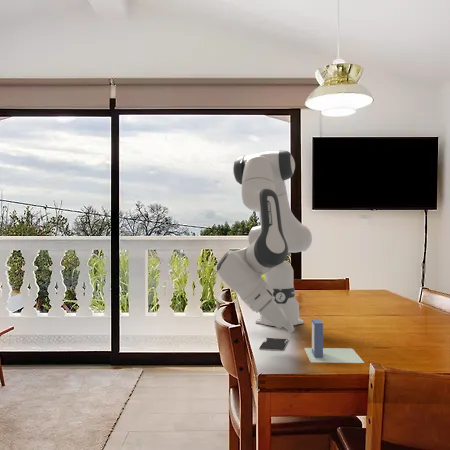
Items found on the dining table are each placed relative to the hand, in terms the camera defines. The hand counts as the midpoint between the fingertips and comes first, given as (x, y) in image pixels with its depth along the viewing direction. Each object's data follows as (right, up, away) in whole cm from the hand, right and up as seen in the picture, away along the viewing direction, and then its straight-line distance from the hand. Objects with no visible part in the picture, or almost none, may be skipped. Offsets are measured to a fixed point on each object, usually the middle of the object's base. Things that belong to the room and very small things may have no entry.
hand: (292, 330), depth 146 cm
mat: (+12, -8, 0) cm, 14 cm away
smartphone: (-4, -8, +13) cm, 16 cm away
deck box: (+7, -7, 0) cm, 10 cm away
